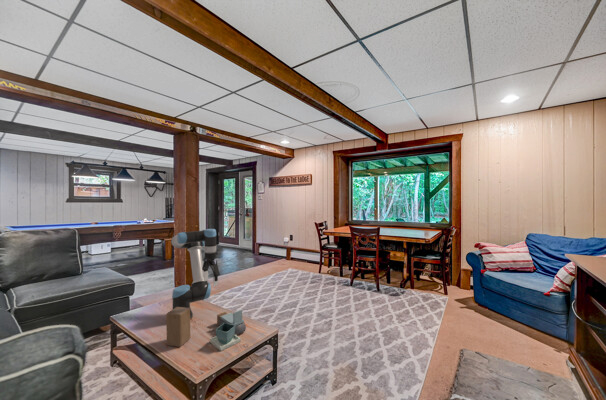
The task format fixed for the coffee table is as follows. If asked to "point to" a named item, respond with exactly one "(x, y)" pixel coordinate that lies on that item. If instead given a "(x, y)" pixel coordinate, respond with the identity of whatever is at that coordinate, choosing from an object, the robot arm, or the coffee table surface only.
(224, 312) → the block
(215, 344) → the tray
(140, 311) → the coffee table surface
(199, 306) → the coffee table surface
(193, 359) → the coffee table surface
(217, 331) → the flower pot
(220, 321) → the trolley
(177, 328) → the wooden block
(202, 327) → the coffee table surface
